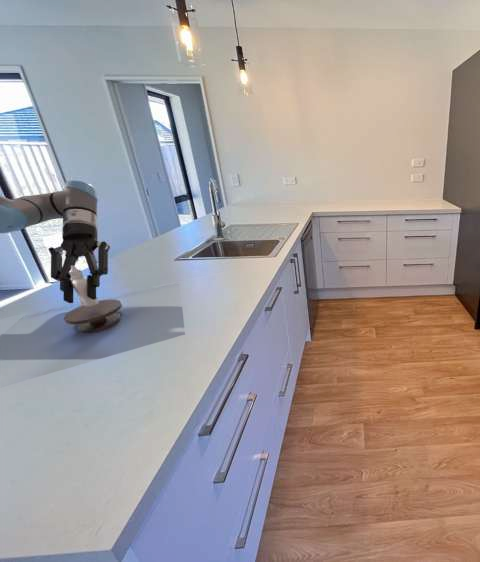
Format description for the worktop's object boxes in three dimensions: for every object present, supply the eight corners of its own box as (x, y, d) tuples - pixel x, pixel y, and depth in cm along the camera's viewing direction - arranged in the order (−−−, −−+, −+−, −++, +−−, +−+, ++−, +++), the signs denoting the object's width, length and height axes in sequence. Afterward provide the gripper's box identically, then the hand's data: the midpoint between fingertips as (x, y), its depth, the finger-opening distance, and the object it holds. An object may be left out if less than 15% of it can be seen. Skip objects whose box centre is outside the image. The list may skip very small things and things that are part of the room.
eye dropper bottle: (77, 309, 85) (57, 270, 80) (84, 301, 89) (66, 264, 84) (96, 306, 86) (78, 267, 81) (103, 298, 91) (86, 261, 86)
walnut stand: (66, 341, 83) (57, 326, 80) (76, 321, 93) (69, 307, 90) (124, 326, 89) (118, 312, 87) (128, 308, 99) (123, 295, 97)
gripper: (32, 224, 84) (28, 302, 77) (109, 217, 90) (111, 288, 83) (51, 238, 91) (49, 310, 84) (121, 230, 97) (124, 297, 90)
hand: (80, 299), depth 83 cm, fingers closed on eye dropper bottle, 4 cm apart
